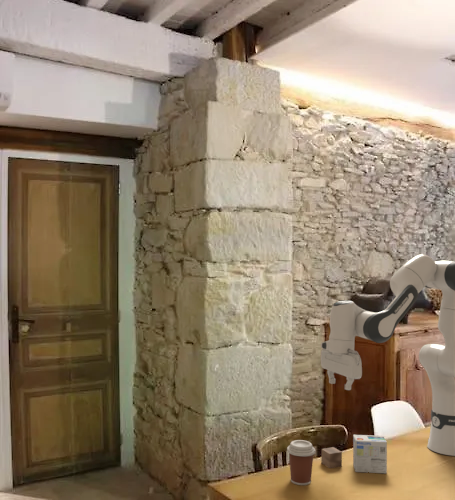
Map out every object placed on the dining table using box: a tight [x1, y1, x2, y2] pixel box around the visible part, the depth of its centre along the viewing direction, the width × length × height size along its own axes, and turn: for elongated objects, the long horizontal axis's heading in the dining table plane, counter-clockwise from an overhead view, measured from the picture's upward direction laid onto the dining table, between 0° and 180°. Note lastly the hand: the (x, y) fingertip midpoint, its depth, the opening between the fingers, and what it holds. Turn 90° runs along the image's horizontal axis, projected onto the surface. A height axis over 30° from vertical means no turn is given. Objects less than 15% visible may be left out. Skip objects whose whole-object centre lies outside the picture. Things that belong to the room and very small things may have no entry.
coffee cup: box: [286, 439, 316, 486], centre depth 170 cm, size 9×9×12 cm
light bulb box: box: [352, 434, 388, 474], centre depth 181 cm, size 11×7×11 cm, turn 84°
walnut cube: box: [320, 446, 343, 469], centre depth 184 cm, size 5×5×5 cm
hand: (339, 386), depth 185 cm, fingers open, 8 cm apart
